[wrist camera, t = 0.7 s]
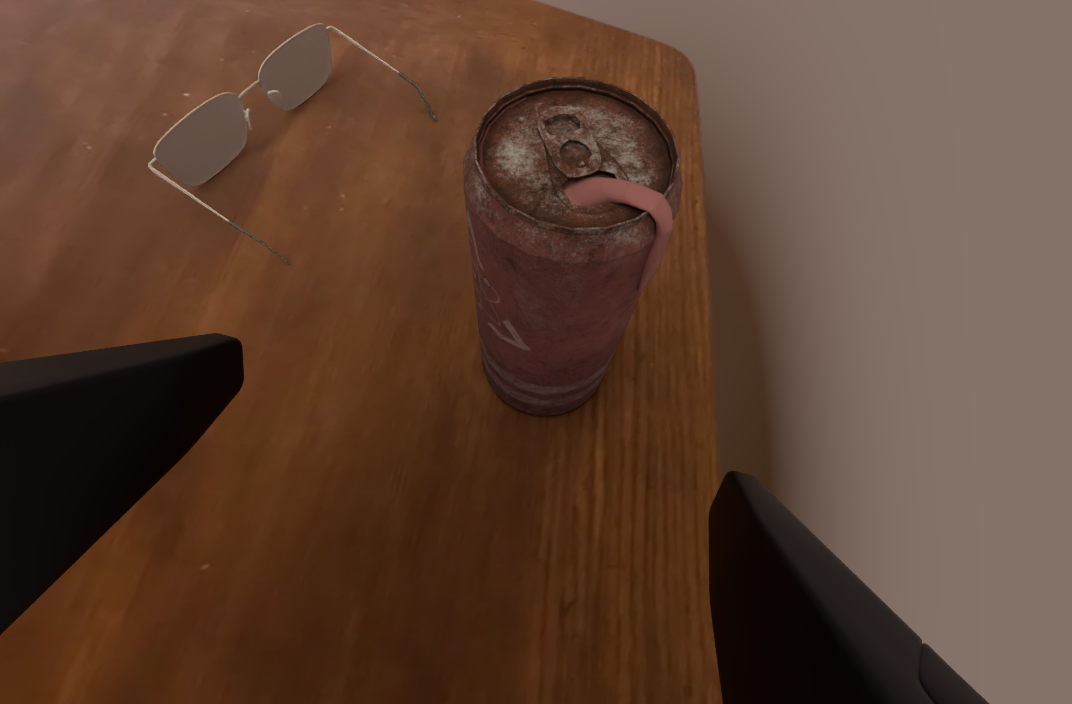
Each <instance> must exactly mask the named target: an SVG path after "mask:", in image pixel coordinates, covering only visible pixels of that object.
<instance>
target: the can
mask: <svg viewBox="0 0 1072 704" xmlns="http://www.w3.org/2000/svg"><path fill="white" fill-rule="evenodd" d="M679 160H680V156H679V152H678V148H677V144H676V140H675V136H674V133H673V132H672V130H671V129H670V128H669V126H668V125H667V123H666V122H665V120H664V119H663V117H662V116H661V114H660V113H659V112H658V111H657V110H655V109H654V108H653V107H652V106H650V105H649V104H648V103H647V102H645V101H644V100H643V99H642V98H640V97H639V96H638V95H636V94H633V93H631V92H629V91H627V90H625V89H623V88H620V87H618V86H616V85H614V84H612V83H607V82H603V81H598V80H593V79H589V78H584V77H551V78H547V79H543V80H538V81H534V82H530V83H525V84H523V85H521V86H519V87H517V88H516V89H514V90H512V91H510V92H508V93H506V94H504V95H502V96H501V97H500V98H499V99H498V100H497V101H496V102H495V103H494V104H493V105H492V106H491V107H490V108H489V109H488V110H487V111H486V112H485V113H484V114H483V116H482V119H481V121H480V124H479V126H478V128H477V131H476V133H475V135H474V136H473V139H472V141H471V144H470V146H469V148H468V151H467V153H466V156H465V158H464V160H463V164H464V193H465V202H466V212H467V221H468V230H469V240H470V249H471V258H472V268H473V277H474V286H475V296H476V305H477V314H478V324H479V333H480V342H481V352H482V361H483V369H484V371H485V374H486V376H487V379H488V381H489V384H490V386H491V387H492V388H493V389H494V391H495V392H496V393H497V394H498V395H499V396H500V398H501V399H502V400H503V401H505V402H507V403H508V404H510V405H511V406H513V407H515V408H516V409H518V410H520V411H524V412H528V413H532V414H535V415H557V414H562V413H565V412H567V411H570V410H572V409H575V408H578V407H579V406H580V405H582V404H583V403H584V402H585V401H587V400H588V399H589V398H590V397H591V396H593V394H594V393H595V391H596V389H597V388H598V386H599V384H600V383H601V381H602V379H603V377H604V375H605V373H606V371H607V368H608V366H609V364H610V362H611V359H612V357H613V355H614V353H615V350H616V348H617V346H618V344H619V341H620V339H621V337H622V335H623V332H624V330H625V328H626V326H627V323H628V321H629V319H630V317H631V314H632V312H633V310H634V308H635V305H636V303H637V301H638V299H639V297H640V294H641V292H642V291H643V289H644V288H645V286H646V285H647V283H648V282H649V280H650V279H651V277H652V276H653V274H654V273H655V271H656V270H657V268H658V267H659V265H660V263H661V260H662V257H663V254H664V251H665V249H666V246H667V243H668V240H669V237H670V234H671V231H672V229H673V220H674V218H675V216H676V214H677V211H678V209H679V203H680V197H681V191H682V184H683V182H682V178H681V174H680V170H679V166H678V165H679Z"/></svg>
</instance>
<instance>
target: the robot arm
mask: <svg viewBox="0 0 1072 704" xmlns="http://www.w3.org/2000/svg"><path fill="white" fill-rule="evenodd" d="M243 381H244V368H243V351H242V344H241V342H240V341H239V340H238V339H237V338H234V337H230V336H226V335H223V334H218V333H213V334H206V335H198V336H191V337H184V338H177V339H169V340H162V341H155V342H148V343H141V344H133V345H126V346H119V347H112V348H104V349H97V350H90V351H83V352H76V353H68V354H61V355H54V356H47V357H39V358H32V359H25V360H18V361H11V362H3V363H0V635H1V634H2V633H3V632H4V631H5V630H6V629H7V628H8V627H9V626H10V625H11V624H12V623H13V622H14V621H15V620H16V619H17V618H18V617H19V616H20V615H21V614H22V613H23V612H24V611H26V610H27V609H28V608H29V607H30V606H31V605H32V604H33V603H34V602H35V601H36V600H37V599H38V598H39V597H40V596H41V595H42V594H43V593H44V592H45V591H46V590H47V589H48V588H49V587H50V586H51V585H52V584H53V583H54V582H55V581H56V580H57V579H58V578H59V577H60V576H61V575H62V574H64V573H65V572H66V571H67V570H68V569H69V568H70V567H71V566H72V565H73V564H74V563H75V562H76V561H77V560H78V559H79V558H80V557H81V556H82V555H83V554H84V553H85V552H86V551H87V550H88V549H89V548H90V547H91V546H92V545H93V544H94V543H95V542H96V541H97V540H98V539H99V538H100V537H102V536H103V535H104V534H105V533H106V532H107V531H108V530H109V529H110V528H111V527H112V526H113V525H114V524H115V523H116V522H117V521H118V520H119V519H120V518H121V517H122V516H123V515H124V514H125V513H126V512H127V511H128V510H129V509H130V508H131V507H132V506H133V505H134V504H135V503H136V502H137V501H138V500H140V499H141V498H142V497H143V496H144V495H145V494H146V493H147V492H148V491H149V490H150V489H151V488H152V487H153V486H154V485H155V484H156V483H157V482H158V481H159V480H160V479H161V478H162V477H163V476H164V475H165V474H166V473H167V472H168V471H169V470H170V469H171V468H172V467H173V466H174V465H175V464H176V463H177V462H178V461H179V460H180V459H181V458H182V457H183V456H184V455H185V454H186V453H187V452H188V451H189V450H190V449H191V448H192V447H193V445H194V444H195V443H196V442H197V441H198V440H199V439H200V437H201V436H202V435H203V434H204V433H205V431H206V430H207V429H208V428H209V427H210V425H211V424H212V423H213V422H214V421H215V420H216V418H217V417H218V416H219V415H220V414H221V412H222V411H223V410H224V409H225V408H226V406H227V405H228V404H229V403H230V402H231V400H232V399H233V398H234V397H235V396H236V395H237V393H238V392H239V391H240V389H241V387H242V385H243ZM709 592H710V607H711V616H712V624H713V631H714V639H715V647H716V654H717V662H718V670H719V677H720V685H721V693H722V700H723V704H989V703H988V702H987V701H986V700H985V699H984V698H982V696H981V695H980V694H978V693H977V692H976V691H975V690H974V689H973V688H972V687H971V686H970V685H969V684H968V683H967V682H966V681H965V680H963V679H962V677H960V676H959V675H958V674H957V673H956V672H955V671H954V670H953V669H952V668H951V667H950V666H949V665H948V664H947V663H946V662H945V661H944V660H943V659H942V658H941V657H940V656H939V655H937V653H935V652H934V650H933V649H932V648H931V647H930V646H928V645H927V644H925V643H923V644H922V640H921V638H920V637H919V636H918V635H917V634H916V633H915V632H914V631H913V630H912V629H911V628H910V627H909V626H908V625H907V624H906V623H905V622H903V621H902V620H901V619H900V618H899V617H898V616H897V615H896V614H895V613H894V612H893V611H892V610H891V609H890V608H889V607H888V606H887V605H886V604H885V603H884V602H883V601H882V600H881V599H880V598H879V597H878V596H877V595H876V594H875V593H874V592H872V590H871V589H870V588H868V587H867V586H866V585H865V584H864V583H863V582H862V581H861V580H860V579H859V578H858V577H857V576H856V575H855V574H854V573H853V572H852V571H851V570H850V569H849V568H848V567H847V566H846V565H845V564H844V563H843V562H842V561H841V560H840V559H839V558H838V557H836V555H834V554H833V553H832V552H831V551H830V550H829V549H828V548H827V547H826V546H825V545H824V544H823V543H822V542H821V541H820V540H819V539H818V538H817V537H816V536H815V535H814V534H813V533H812V532H811V531H810V530H809V529H808V528H807V527H806V526H805V525H803V523H802V522H800V521H799V520H798V519H797V518H796V517H795V516H794V515H793V514H792V513H791V512H790V511H789V510H788V509H787V508H786V507H785V506H784V505H783V504H782V503H781V502H780V501H779V500H778V499H777V498H775V496H774V495H773V494H772V493H771V492H769V491H768V489H766V488H765V487H764V486H763V485H762V484H761V483H760V482H759V481H758V480H757V479H756V478H755V477H754V476H751V475H748V474H744V473H740V472H736V471H730V472H728V473H727V474H726V475H725V477H724V479H723V481H722V483H721V485H720V488H719V490H718V492H717V494H716V496H715V498H714V501H713V503H712V505H711V508H710V512H709Z"/></svg>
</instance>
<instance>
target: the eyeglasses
mask: <svg viewBox="0 0 1072 704" xmlns="http://www.w3.org/2000/svg"><path fill="white" fill-rule="evenodd" d="M330 31H334V32H336V33H338V34H339V35H341V36H342V37H344V38H345V39H347V40H348V41H350V42H351V43H353V44H354V45H356V46H357V47H359V48H360V49H362V50H363V51H365V52H366V53H368V54H369V55H371V56H372V57H374V58H375V59H377V60H378V61H380V62H381V63H383V64H384V65H386V66H387V67H389V68H390V69H392V70H394V71H395V72H397V73H398V74H399V75H400V76H401V77H403V78H404V79H406V80H407V81H408V82H410V83H411V84H412V85H413V86H415V87H416V89H417V90H418V91H419V93H420V95H421V96H422V98H423V100H424V103H425V105H426V107H427V109H428V111H429V113H430V115H431V117H432V119H433V121H437V120H436V118H435V116H434V115H433V113H432V111H431V109H430V106H429V104H428V102H427V100H426V98H425V97H424V95H423V93H422V91H421V90H420V88H419V87H418V86H417V85H416V84H415V83H414V82H413V81H412V80H410V79H409V78H408V77H406V76H405V75H404V74H402V73H401V72H398V71H397V70H396V69H394V68H393V67H391V66H390V65H388V64H387V63H386V62H384V61H383V60H381V59H380V58H378V57H377V56H376V55H374V54H373V53H371V52H370V51H368V50H367V49H366V48H364V47H363V46H361V45H360V44H358V43H357V42H356V41H354V40H353V39H351V38H350V37H348V36H347V35H346V34H344V33H343V32H341V31H340V30H338V29H336V28H335V27H333V26H328V27H325V25H323V24H321V23H318V24H314V25H312V26H309V27H307V28H306V29H304V30H302V31H300V32H299V33H297V34H295V35H294V36H292V37H291V38H289V39H288V40H287V41H285V42H284V43H283V44H281V45H280V46H279V47H278V48H276V49H275V50H274V51H273V52H272V53H271V54H270V55H269V56H268V57H267V58H266V59H265V60H264V62H263V63H262V65H261V67H260V69H259V72H258V80H257V81H256V82H254V83H253V84H252V85H251V86H249V87H248V88H247V89H245V90H244V91H243V92H242V93H241V94H240V95H239V96H237V95H236V94H234V93H231V92H225V93H221V94H218V95H216V96H214V97H212V98H210V99H208V100H207V101H205V102H204V103H202V104H201V105H199V106H198V107H196V108H195V109H194V110H192V111H191V112H190V113H188V114H187V115H186V116H185V117H183V118H182V119H181V120H180V121H179V122H177V123H176V124H175V125H174V126H173V127H172V128H171V129H170V130H169V131H168V132H167V133H166V134H165V135H164V136H163V137H162V138H161V139H160V140H159V141H158V142H157V144H156V146H155V148H154V151H153V153H154V156H155V158H154V159H153V160H151V161H150V162H149V164H148V166H149V168H150V169H151V170H152V171H153V172H154V173H155V174H156V175H157V176H159V177H160V178H162V179H163V180H165V181H167V182H168V183H170V184H171V185H173V186H174V187H176V188H177V189H179V190H180V191H182V192H183V193H185V194H186V195H188V196H189V197H191V198H192V199H194V200H195V201H197V202H198V203H200V204H201V205H203V206H204V207H206V208H207V209H209V210H210V211H212V212H213V213H215V214H216V215H218V216H220V217H221V218H223V219H224V220H226V221H227V222H228V223H229V224H230V225H232V226H234V227H235V228H237V229H238V230H240V231H242V232H243V233H245V234H247V235H248V236H250V237H252V238H254V239H255V240H257V241H258V242H260V243H262V244H263V245H264V246H266V247H267V248H268V249H270V250H271V251H272V252H273V253H275V254H276V255H277V256H278V257H280V256H279V255H278V254H277V253H276V252H275V251H273V250H272V249H271V248H270V247H268V246H267V245H266V244H265V243H263V242H262V241H261V240H259V239H258V238H256V237H255V236H253V235H252V234H250V233H249V232H247V231H245V230H244V229H242V228H241V227H239V226H238V225H236V224H235V223H233V222H232V221H229V220H228V219H226V218H225V217H223V216H222V215H220V214H219V213H217V212H216V211H215V210H213V209H212V208H210V207H209V206H207V205H206V204H205V203H203V202H202V201H200V200H199V199H197V198H196V197H195V196H193V195H192V194H190V193H189V192H187V191H186V190H184V189H183V188H182V187H180V186H179V185H177V184H176V183H174V182H173V181H172V180H170V179H169V178H167V177H166V176H164V175H163V174H162V173H160V172H159V171H157V170H156V169H154V167H155V166H156V165H157V164H158V163H159V164H160V165H161V166H162V167H163V168H164V169H165V170H166V171H167V172H168V173H169V174H170V175H172V176H173V177H174V178H176V179H177V180H178V181H180V182H181V183H183V184H185V185H187V186H198V185H201V184H203V183H205V182H206V181H208V180H209V179H211V178H212V177H213V176H215V175H216V174H217V173H218V172H220V171H221V170H222V169H223V168H224V167H226V166H227V165H228V164H229V163H230V162H231V161H232V160H233V159H234V158H235V157H236V156H237V155H238V154H239V153H240V152H241V150H242V149H243V148H244V146H245V144H246V141H247V122H248V125H249V131H252V130H253V118H252V112H251V110H250V109H248V108H247V110H246V111H245V110H244V108H243V104H242V102H241V100H240V99H241V98H242V97H243V96H244V95H245V94H246V93H247V92H248V91H250V90H251V89H252V88H254V87H255V86H256V85H257V84H260V87H261V88H262V90H263V91H264V93H265V94H266V96H267V97H268V98H269V100H270V101H271V102H272V103H273V104H274V105H275V106H277V107H278V108H280V109H281V110H284V111H289V110H291V109H294V108H295V107H297V106H299V105H300V104H301V103H303V102H304V101H306V100H307V99H308V98H310V97H311V96H312V95H313V94H315V93H316V92H317V91H318V90H319V89H320V88H321V87H322V86H323V85H324V84H325V82H326V81H327V79H328V78H329V76H330V72H331V50H330V41H329V36H328V33H329V32H330ZM280 258H281V259H282V260H284V259H283V258H282V257H280ZM284 261H285V260H284ZM285 262H286V261H285ZM286 263H287V264H289V263H288V262H286ZM289 265H290V264H289Z"/></svg>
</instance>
